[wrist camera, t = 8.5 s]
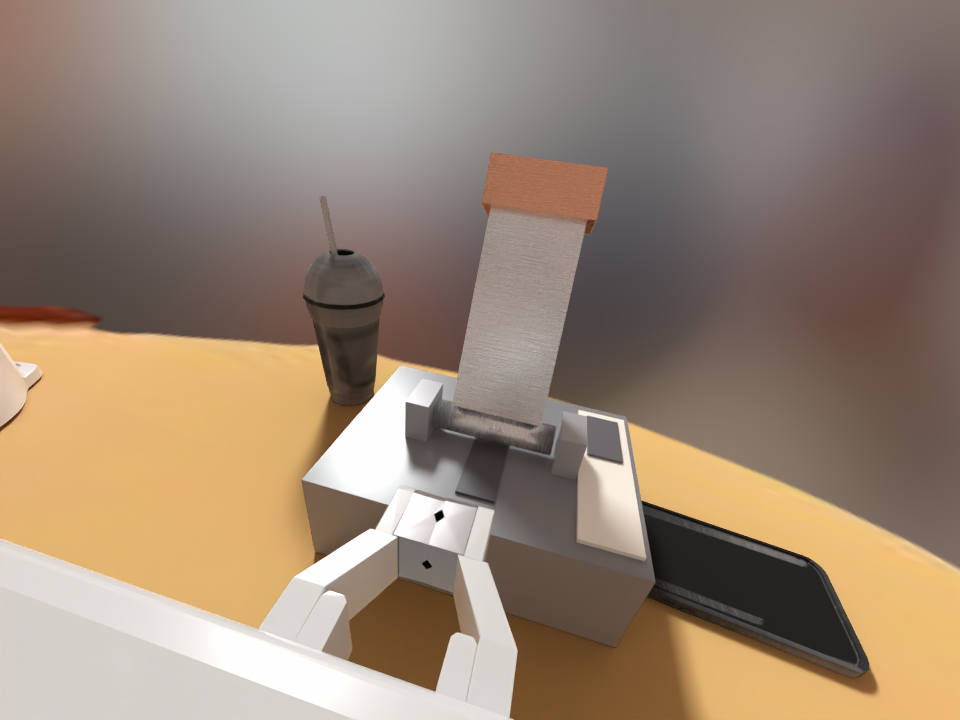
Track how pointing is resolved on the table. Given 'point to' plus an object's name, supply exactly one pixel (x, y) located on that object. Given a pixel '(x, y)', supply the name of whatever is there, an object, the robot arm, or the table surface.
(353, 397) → the beverage cup
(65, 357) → the table surface
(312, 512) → the switch box
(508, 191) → the lever
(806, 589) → the phone
